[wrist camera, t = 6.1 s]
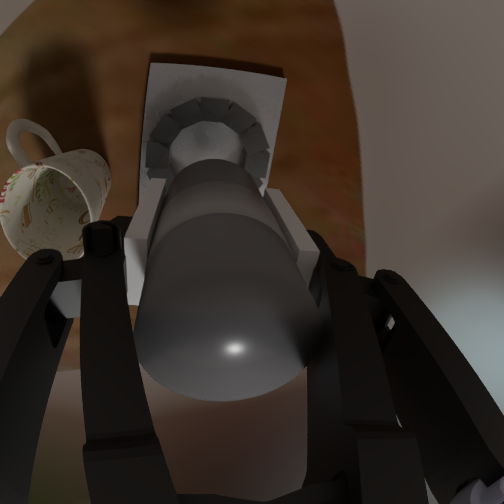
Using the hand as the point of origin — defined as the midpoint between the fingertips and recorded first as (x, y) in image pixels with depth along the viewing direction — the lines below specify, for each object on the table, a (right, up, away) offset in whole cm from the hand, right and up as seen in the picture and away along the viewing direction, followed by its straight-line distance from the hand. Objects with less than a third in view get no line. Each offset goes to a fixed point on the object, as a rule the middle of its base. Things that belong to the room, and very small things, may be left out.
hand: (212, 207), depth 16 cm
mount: (-2, +7, +12) cm, 14 cm away
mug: (-16, +7, +11) cm, 20 cm away
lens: (0, 0, 0) cm, 0 cm away
